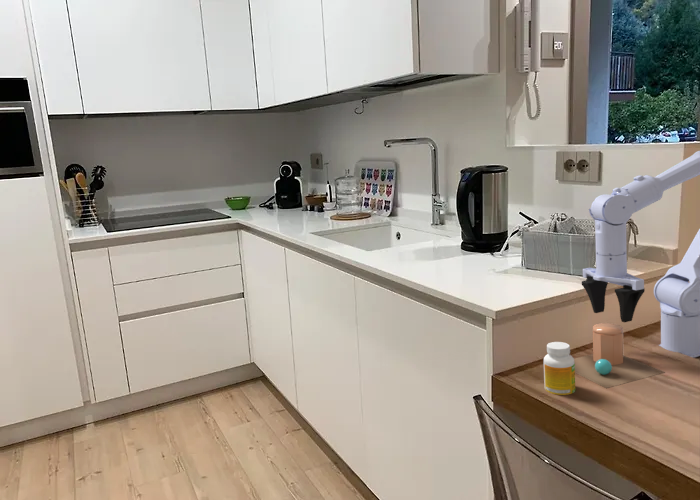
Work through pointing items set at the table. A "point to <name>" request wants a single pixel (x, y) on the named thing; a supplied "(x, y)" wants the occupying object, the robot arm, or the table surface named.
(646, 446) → the table surface
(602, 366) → the teal ball
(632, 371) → the walnut board
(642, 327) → the table surface
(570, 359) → the supplement bottle
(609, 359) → the faceted octagonal canister
